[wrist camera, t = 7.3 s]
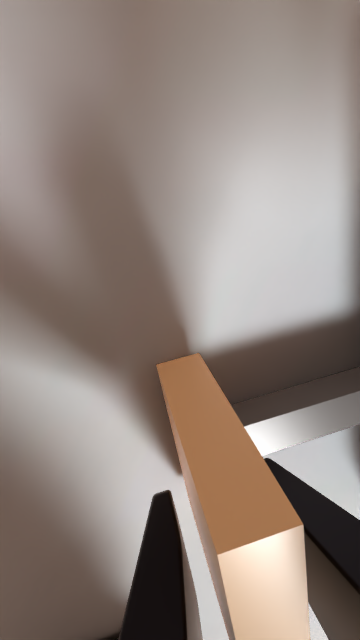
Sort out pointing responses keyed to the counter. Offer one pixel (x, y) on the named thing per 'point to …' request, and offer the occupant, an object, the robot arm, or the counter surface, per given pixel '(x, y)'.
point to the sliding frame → (251, 488)
